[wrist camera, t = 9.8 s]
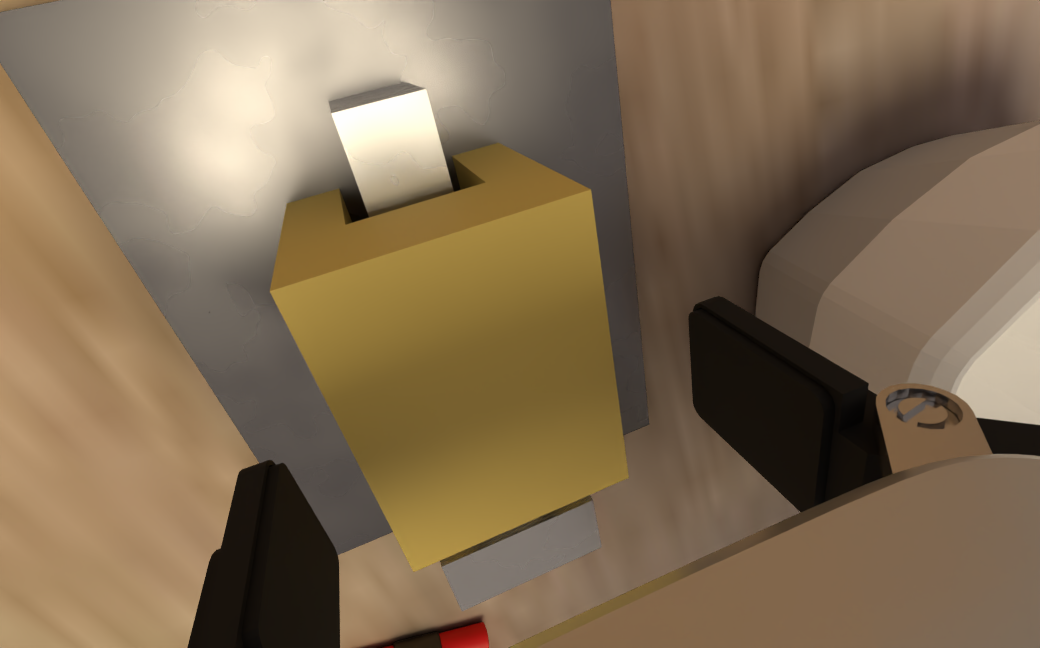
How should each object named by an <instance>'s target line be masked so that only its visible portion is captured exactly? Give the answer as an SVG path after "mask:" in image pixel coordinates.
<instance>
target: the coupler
mask: <svg viewBox="0 0 1040 648" xmlns="http://www.w3.org/2000/svg"><path fill="white" fill-rule="evenodd" d="M0 64H1V65H2V67H3V68H4V70H5V71H6V73H7V74H8V76H9V78H10V79H11V81H12V82H13V84H14V85H15V87H16V88H17V90H18V91H19V93H20V94H21V96H22V98H23V99H24V101H25V102H26V104H27V105H28V107H29V108H30V110H31V111H32V113H33V115H34V116H35V118H36V119H37V121H38V122H39V124H40V125H41V127H42V128H43V130H44V131H45V133H46V135H47V136H48V138H49V139H50V141H51V142H52V144H53V145H54V147H55V148H56V150H57V152H58V153H59V155H60V156H61V158H62V159H63V161H64V162H65V164H66V165H67V167H68V168H69V170H70V172H71V173H72V175H73V176H74V178H75V179H76V181H77V182H78V184H79V185H80V187H81V189H82V190H83V192H84V193H85V195H86V196H87V198H88V199H89V201H90V202H91V204H92V205H93V207H94V209H95V210H96V212H97V213H98V215H99V216H100V218H101V219H102V221H103V222H104V224H105V226H106V227H107V229H108V230H109V232H110V233H111V235H112V236H113V238H114V239H115V241H116V242H117V244H118V246H119V247H120V249H121V250H122V252H123V253H124V255H125V256H126V258H127V259H128V261H129V263H130V264H131V266H132V267H133V269H134V270H135V272H136V273H137V275H138V276H139V278H140V279H141V281H142V283H143V284H144V286H145V287H146V289H147V290H148V292H149V293H150V295H151V296H152V298H153V300H154V301H155V303H156V304H157V306H158V307H159V309H160V310H161V312H162V313H163V315H164V316H165V318H166V320H167V321H168V323H169V324H170V326H171V327H172V329H173V330H174V332H175V333H176V335H177V337H178V338H179V340H180V341H181V343H182V344H183V346H184V347H185V349H186V350H187V352H188V353H189V355H190V357H191V358H192V360H193V361H194V363H195V364H196V366H197V367H198V369H199V370H200V372H201V374H202V375H203V377H204V378H205V380H206V381H207V383H208V384H209V386H210V387H211V389H212V390H213V392H214V394H215V395H216V397H217V398H218V400H219V401H220V403H221V404H222V406H223V407H224V409H225V411H226V412H227V414H228V415H229V417H230V418H231V420H232V421H233V423H234V424H235V426H236V427H237V429H238V431H239V432H240V434H241V435H242V437H243V438H244V440H245V441H246V443H247V444H248V446H249V448H250V449H251V451H252V452H253V454H254V455H255V457H256V458H257V460H258V461H259V463H262V462H264V461H267V460H272V461H273V462H274V463H275V464H276V465H277V464H280V463H284V464H285V465H286V466H287V467H288V469H289V471H290V472H291V474H292V476H293V477H294V479H295V481H296V483H297V484H298V486H299V488H300V489H301V491H302V493H303V494H304V496H305V498H306V499H307V501H308V503H309V504H310V506H311V508H312V510H313V511H314V513H315V515H316V516H317V518H318V520H319V521H320V523H321V525H322V526H323V528H324V530H325V531H326V533H327V535H328V536H329V538H330V540H331V542H332V543H333V545H334V547H335V549H336V552H337V555H339V554H341V553H344V552H346V551H348V550H351V549H353V548H356V547H358V546H360V545H363V544H365V543H368V542H370V541H372V540H375V539H377V538H379V537H382V536H384V535H387V534H389V533H391V532H393V531H392V529H391V527H390V525H389V523H388V521H387V519H386V517H385V515H384V513H383V511H382V509H381V508H380V506H379V504H378V502H377V500H376V498H375V496H374V494H373V492H372V490H371V488H370V486H369V484H368V482H367V480H366V478H365V476H364V474H363V472H362V470H361V469H360V467H359V465H358V463H357V461H356V459H355V457H354V455H353V453H352V451H351V449H350V447H349V445H348V443H347V441H346V439H345V437H344V435H343V433H342V431H341V430H340V428H339V426H338V424H337V422H336V420H335V418H334V416H333V414H332V412H331V410H330V408H329V406H328V404H327V402H326V400H325V398H324V396H323V394H322V392H321V391H320V389H319V387H318V385H317V383H316V381H315V379H314V377H313V375H312V373H311V371H310V369H309V367H308V365H307V363H306V361H305V359H304V357H303V355H302V353H301V352H300V350H299V348H298V346H297V344H296V342H295V340H294V338H293V336H292V334H291V332H290V330H289V328H288V326H287V324H286V322H285V320H284V318H283V316H282V314H281V313H280V311H279V309H278V307H277V305H276V303H275V301H274V299H273V297H272V295H271V293H270V287H271V282H272V277H273V272H274V266H275V261H276V256H277V251H278V246H279V241H280V236H281V230H282V225H283V220H284V215H285V210H286V205H287V203H290V202H294V201H297V200H301V199H304V198H308V197H311V196H315V195H318V194H322V193H325V192H329V191H332V190H336V189H340V192H341V195H342V197H343V200H344V202H345V205H346V208H347V210H348V213H349V215H350V218H351V220H352V223H353V222H356V221H360V220H363V219H366V218H370V217H373V216H376V215H379V214H383V213H386V212H389V211H393V210H396V209H399V208H403V207H406V206H409V205H413V204H416V203H419V202H423V201H426V200H429V199H433V198H436V197H439V196H443V195H446V194H449V193H452V192H456V191H459V190H461V189H460V185H459V181H458V177H457V174H456V170H455V166H454V162H453V159H452V156H454V155H457V154H461V153H464V152H468V151H471V150H475V149H478V148H482V147H485V146H489V145H492V144H496V143H500V144H502V145H504V146H506V147H508V148H510V149H512V150H514V151H516V152H518V153H520V154H522V155H524V156H526V157H528V158H530V159H532V160H534V161H536V162H538V163H540V164H542V165H544V166H546V167H547V168H549V169H551V170H553V171H555V172H557V173H559V174H561V175H563V176H565V177H567V178H569V179H571V180H573V181H575V182H577V183H579V184H581V185H583V186H585V187H587V188H589V189H591V193H592V200H593V208H594V216H595V223H596V231H597V239H598V246H599V254H600V262H601V269H602V277H603V284H604V292H605V300H606V307H607V315H608V323H609V330H610V338H611V346H612V353H613V361H614V369H615V376H616V384H617V392H618V399H619V407H620V415H621V422H622V430H623V435H625V434H628V433H630V432H632V431H635V430H637V429H640V428H642V427H644V426H647V425H649V418H648V407H647V396H646V385H645V374H644V363H643V352H642V341H641V330H640V319H639V308H638V297H637V286H636V275H635V264H634V253H633V242H632V231H631V220H630V209H629V199H628V188H627V177H626V166H625V155H624V144H623V133H622V122H621V111H620V100H619V89H618V78H617V67H616V56H615V45H614V34H613V23H612V12H611V1H610V0H60V1H55V2H50V3H45V4H39V5H34V6H29V7H24V8H19V9H14V10H9V11H4V12H0ZM599 548H601V541H600V536H599V530H598V525H597V520H596V514H595V509H594V503H593V500H592V498H591V496H590V495H588V496H586V497H584V498H582V499H579V500H577V501H575V502H572V503H570V504H568V505H566V506H563V507H561V508H559V509H556V510H554V511H552V512H550V513H547V514H545V515H543V516H540V517H538V518H536V519H534V520H531V521H529V522H527V523H525V524H522V525H520V526H518V527H515V528H513V529H511V530H509V531H506V532H504V533H502V534H499V535H497V536H495V537H493V538H490V539H488V540H486V541H484V542H481V543H479V544H477V545H474V546H472V547H470V548H468V549H465V550H463V551H461V552H458V553H456V554H454V555H452V556H449V557H447V558H445V559H443V560H440V562H441V566H442V569H443V571H444V573H445V575H446V578H447V580H448V582H449V584H450V586H451V588H452V591H453V593H454V595H455V597H456V599H457V602H458V604H459V606H460V608H461V610H462V611H464V610H466V609H468V608H470V607H473V606H475V605H477V604H479V603H481V602H483V601H486V600H488V599H490V598H492V597H494V596H497V595H499V594H501V593H503V592H505V591H507V590H510V589H512V588H514V587H516V586H518V585H520V584H523V583H525V582H527V581H529V580H531V579H533V578H536V577H538V576H540V575H542V574H544V573H546V572H549V571H551V570H553V569H555V568H557V567H559V566H562V565H564V564H566V563H568V562H570V561H573V560H575V559H577V558H579V557H581V556H583V555H586V554H588V553H590V552H592V551H594V550H596V549H599Z"/></svg>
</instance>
